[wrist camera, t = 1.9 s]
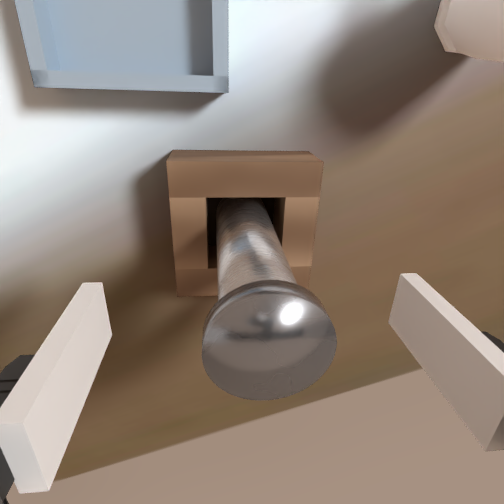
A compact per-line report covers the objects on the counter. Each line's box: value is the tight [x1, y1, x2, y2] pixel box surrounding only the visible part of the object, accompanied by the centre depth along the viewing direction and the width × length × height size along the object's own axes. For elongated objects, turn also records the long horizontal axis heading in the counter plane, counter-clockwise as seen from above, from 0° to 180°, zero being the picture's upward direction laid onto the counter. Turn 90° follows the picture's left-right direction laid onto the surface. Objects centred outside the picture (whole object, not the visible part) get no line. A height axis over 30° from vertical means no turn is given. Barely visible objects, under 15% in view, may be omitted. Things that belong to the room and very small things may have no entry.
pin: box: [202, 197, 337, 400], centre depth 18 cm, size 5×5×14 cm
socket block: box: [166, 150, 324, 297], centre depth 23 cm, size 9×9×4 cm
